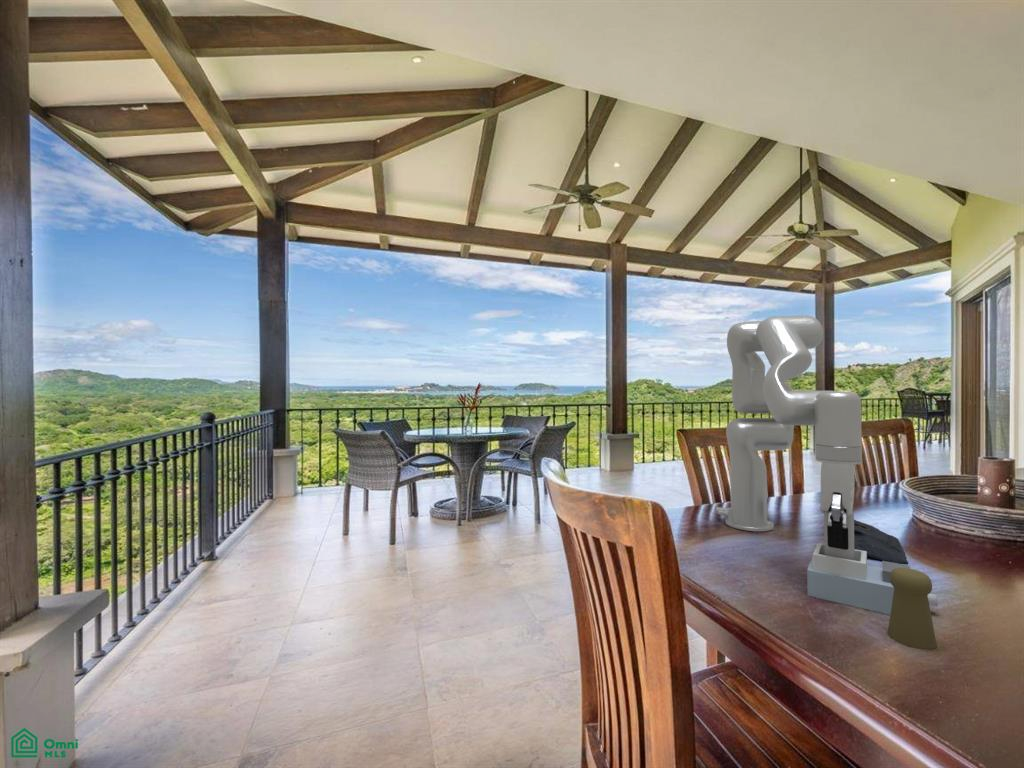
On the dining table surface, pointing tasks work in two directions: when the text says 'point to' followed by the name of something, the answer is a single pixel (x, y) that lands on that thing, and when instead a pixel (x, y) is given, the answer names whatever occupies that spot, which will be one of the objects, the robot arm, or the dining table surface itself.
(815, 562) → the recessed tray block
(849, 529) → the beverage can
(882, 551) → the dark slate chunk
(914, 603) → the olive pepper mill
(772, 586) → the dining table surface
